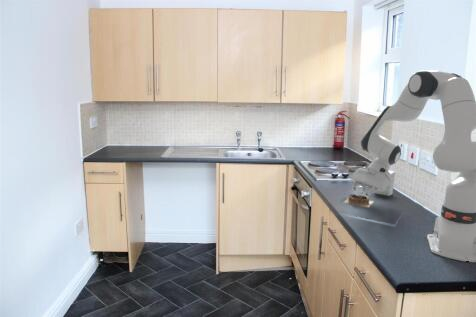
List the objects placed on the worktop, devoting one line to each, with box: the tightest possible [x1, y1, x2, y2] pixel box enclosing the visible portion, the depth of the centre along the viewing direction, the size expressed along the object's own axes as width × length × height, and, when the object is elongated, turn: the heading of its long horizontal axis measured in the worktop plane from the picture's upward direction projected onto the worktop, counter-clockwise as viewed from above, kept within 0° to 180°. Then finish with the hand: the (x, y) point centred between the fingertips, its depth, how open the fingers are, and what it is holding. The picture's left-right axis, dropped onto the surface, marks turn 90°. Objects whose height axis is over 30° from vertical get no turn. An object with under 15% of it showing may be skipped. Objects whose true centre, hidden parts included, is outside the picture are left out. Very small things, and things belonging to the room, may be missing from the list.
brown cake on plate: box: [342, 193, 374, 208], centre depth 184 cm, size 12×12×4 cm
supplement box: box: [374, 170, 396, 197], centre depth 201 cm, size 7×7×13 cm
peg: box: [354, 184, 366, 199], centre depth 184 cm, size 4×4×8 cm
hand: (359, 192), depth 184 cm, fingers open, 8 cm apart
